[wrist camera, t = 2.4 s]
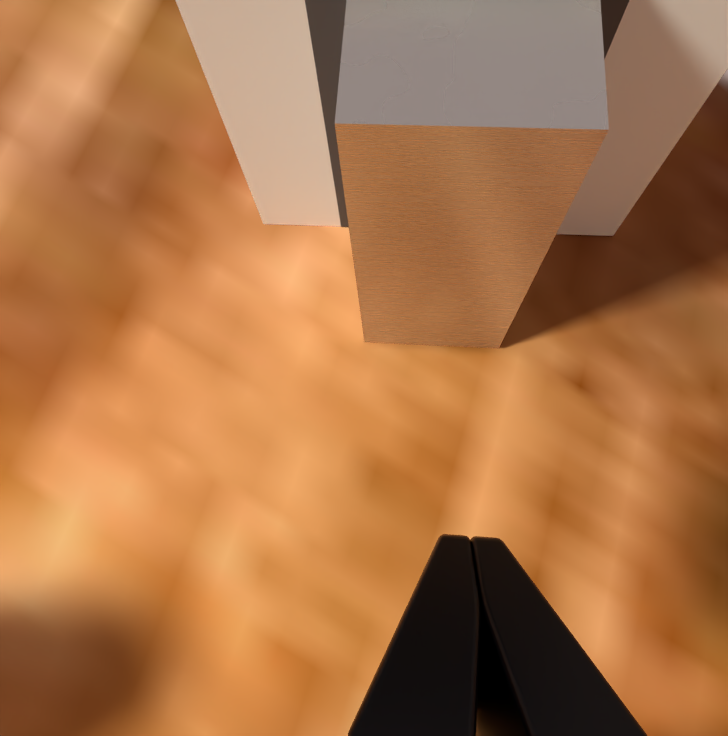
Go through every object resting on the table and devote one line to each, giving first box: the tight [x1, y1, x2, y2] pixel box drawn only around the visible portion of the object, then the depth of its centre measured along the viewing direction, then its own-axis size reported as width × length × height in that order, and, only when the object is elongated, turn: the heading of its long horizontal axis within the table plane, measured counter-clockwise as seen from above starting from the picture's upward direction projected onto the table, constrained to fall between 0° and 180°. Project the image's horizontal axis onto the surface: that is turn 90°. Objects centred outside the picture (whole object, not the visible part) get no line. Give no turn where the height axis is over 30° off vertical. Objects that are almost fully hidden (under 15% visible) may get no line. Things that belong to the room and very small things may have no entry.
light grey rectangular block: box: [335, 0, 609, 348], centre depth 18 cm, size 10×5×12 cm, turn 176°
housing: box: [176, 0, 728, 236], centre depth 18 cm, size 6×14×15 cm, turn 86°
